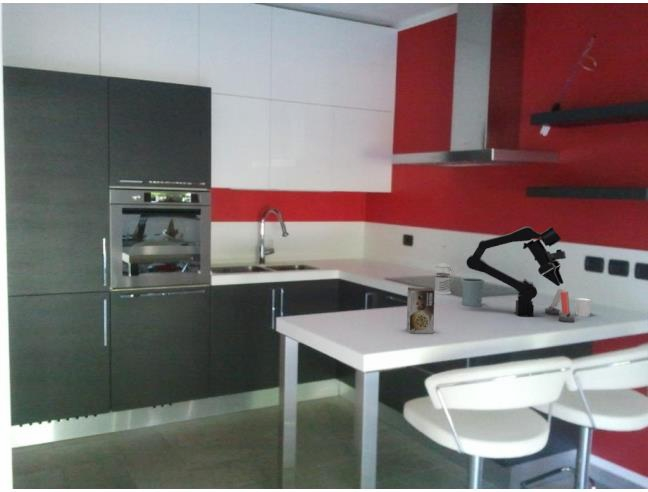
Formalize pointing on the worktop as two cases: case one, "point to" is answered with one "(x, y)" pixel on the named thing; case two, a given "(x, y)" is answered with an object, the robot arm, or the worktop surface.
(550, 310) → the grey switch base
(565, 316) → the dark rounded piece
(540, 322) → the worktop surface
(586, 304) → the shot glass
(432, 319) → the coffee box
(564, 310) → the block
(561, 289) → the block
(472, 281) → the grey green cup
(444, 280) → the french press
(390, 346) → the worktop surface
